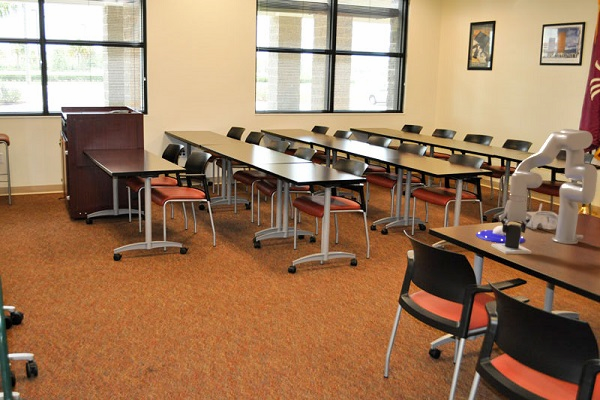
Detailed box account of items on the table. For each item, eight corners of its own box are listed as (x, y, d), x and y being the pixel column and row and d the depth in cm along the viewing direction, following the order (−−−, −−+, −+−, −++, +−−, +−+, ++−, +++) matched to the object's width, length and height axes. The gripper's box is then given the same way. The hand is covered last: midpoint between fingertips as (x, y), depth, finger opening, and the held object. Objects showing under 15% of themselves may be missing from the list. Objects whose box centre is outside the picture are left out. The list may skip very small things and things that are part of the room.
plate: (516, 245, 329) (516, 243, 329) (531, 253, 316) (531, 251, 316) (491, 245, 326) (491, 243, 326) (505, 253, 313) (505, 251, 312)
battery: (519, 247, 321) (522, 225, 319) (518, 249, 318) (521, 226, 316) (505, 245, 324) (508, 222, 322) (504, 246, 321) (506, 224, 319)
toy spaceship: (476, 241, 335) (477, 228, 334) (475, 230, 359) (476, 218, 358) (527, 247, 330) (528, 233, 328) (522, 235, 354) (524, 223, 352)
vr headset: (529, 231, 364) (532, 206, 362) (519, 226, 375) (522, 201, 373) (559, 231, 368) (562, 206, 365) (548, 226, 379) (551, 202, 376)
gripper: (529, 196, 321) (525, 230, 325) (497, 196, 318) (493, 230, 321) (537, 199, 314) (533, 234, 318) (505, 200, 311) (501, 234, 314)
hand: (513, 232), depth 319 cm, fingers open, 9 cm apart
